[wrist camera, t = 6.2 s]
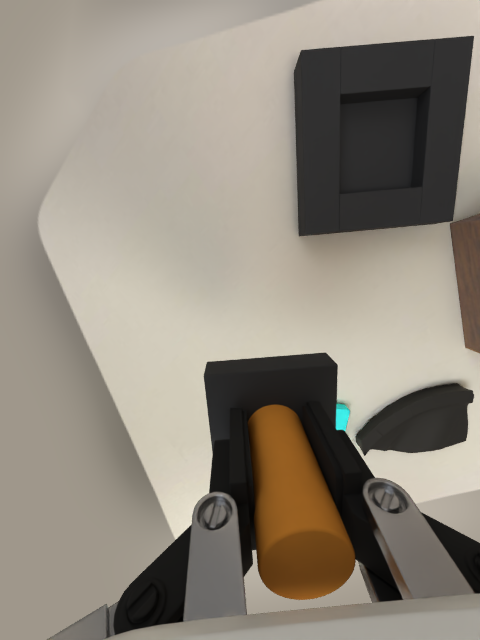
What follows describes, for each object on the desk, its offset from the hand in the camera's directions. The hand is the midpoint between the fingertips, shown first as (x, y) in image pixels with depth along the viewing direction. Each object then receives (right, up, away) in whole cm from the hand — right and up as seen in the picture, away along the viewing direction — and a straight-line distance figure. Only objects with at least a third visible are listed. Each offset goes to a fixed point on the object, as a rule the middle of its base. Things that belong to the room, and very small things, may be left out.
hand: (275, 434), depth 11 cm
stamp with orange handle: (0, 0, +2) cm, 2 cm away
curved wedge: (+20, -7, +21) cm, 30 cm away
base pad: (+11, +21, +13) cm, 27 cm away
